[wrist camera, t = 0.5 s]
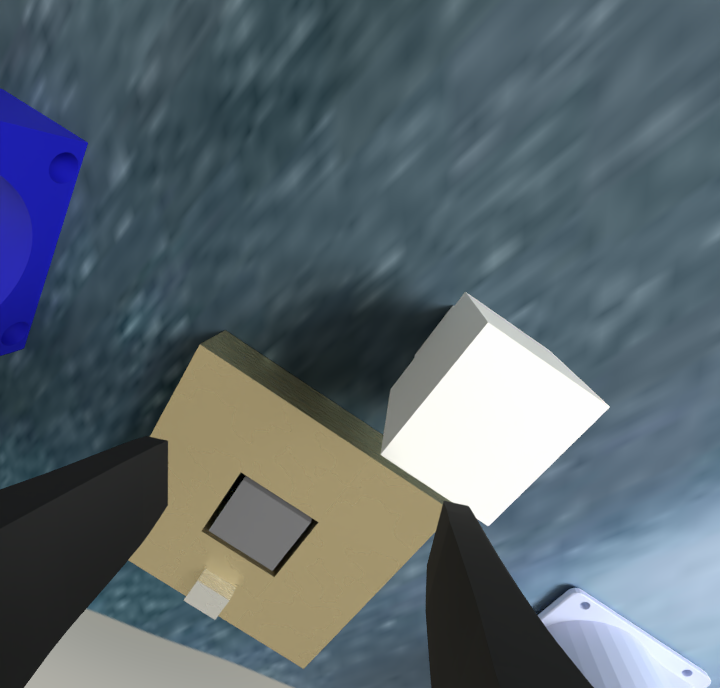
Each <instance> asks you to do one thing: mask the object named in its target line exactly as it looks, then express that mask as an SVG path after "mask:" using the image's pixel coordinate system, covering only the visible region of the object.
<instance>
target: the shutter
mask: <svg viewBox="0 0 720 688" xmlns="http://www.w3.org/2000/svg"><path fill="white" fill-rule="evenodd" d="M311 520H312V518H311V517H310V516H308V515H306V514H305V513H303V512H302V511H300V510H299V509H297V508H296V507H294V506H292V505H291V504H289V503H288V502H286V501H285V500H283V499H282V498H280V497H279V496H277V495H275V494H274V493H272V492H271V491H269V490H268V489H266V488H265V487H263V486H261V485H260V484H258V483H257V482H255V481H254V480H252V479H251V478H249V477H247V476H245V478H244V479H243V480H242V482H241V483H240V485H239V486H238V488H237V489H236V491H235V492H234V494H233V495H232V497H231V498H230V500H229V501H228V503H227V504H226V506H225V507H224V509H223V510H222V511H221V513H220V514H219V516H218V517H217V519H216V520H215V522H214V523H213V525H212V526H211V528H210V529H209V531H210V532H211V533H213V534H215V535H216V536H218V537H219V538H221V539H223V540H224V541H226V542H227V543H229V544H230V545H232V546H234V547H235V548H237V549H238V550H240V551H242V552H243V553H245V554H246V555H248V556H249V557H251V558H253V559H254V560H256V561H257V562H259V563H261V564H262V565H264V566H265V567H267V568H268V569H270V570H272V571H273V569H274V568H275V567H276V566H277V564H278V563H279V562H280V561H281V559H282V558H283V557H284V556H285V554H286V553H287V552H288V551H289V549H290V548H291V547H292V546H293V544H294V543H295V542H296V541H297V539H298V538H299V537H300V536H301V534H302V533H303V532H304V531H305V529H306V528H307V527H308V526H309V524H310V523H311Z"/></svg>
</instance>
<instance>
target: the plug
mask: <svg viewBox="0 0 720 688" xmlns="http://www.w3.org/2000/svg"><path fill="white" fill-rule="evenodd" d="M608 408H609V406H608V405H607V404H606V403H605V402H604V401H603V400H602V399H601V398H600V397H599V396H598V395H597V394H596V393H594V392H593V391H592V390H591V389H590V388H589V387H588V386H587V385H586V384H585V383H584V382H583V381H582V380H581V379H580V378H578V377H577V376H576V375H575V374H574V373H573V372H572V371H571V370H570V369H569V368H568V367H567V366H566V365H565V364H563V363H562V362H561V361H560V360H559V359H558V358H557V357H556V356H555V355H554V354H553V353H552V352H551V351H550V350H548V349H547V348H545V347H544V346H542V345H541V344H540V343H538V342H537V341H535V340H534V339H532V338H531V337H529V336H528V335H527V334H525V333H524V332H522V331H521V330H519V329H518V328H517V327H515V326H514V325H512V324H511V323H509V322H508V321H507V320H505V319H504V318H502V317H501V316H499V315H498V314H496V313H495V312H494V311H492V310H491V309H489V308H488V307H486V306H485V305H484V304H482V303H481V302H479V301H478V300H476V299H475V298H474V297H472V296H471V295H469V294H468V293H466V292H465V293H464V294H463V296H462V297H461V298H460V299H459V301H458V302H457V303H456V305H455V306H452V307H451V308H450V310H449V311H448V312H447V314H446V315H445V316H444V317H443V319H442V320H441V321H440V323H439V324H438V325H437V327H436V328H435V329H434V331H433V332H432V333H431V334H430V336H429V337H428V338H427V340H426V341H425V342H424V344H423V345H422V346H421V348H420V349H419V350H418V351H417V353H416V354H415V355H414V359H413V361H412V362H411V363H410V365H409V366H408V367H407V368H406V370H405V371H404V372H403V374H402V375H401V376H400V378H399V379H398V380H397V381H396V383H395V384H394V385H393V387H392V388H391V389H390V396H389V402H388V409H387V415H386V422H385V428H384V435H383V441H382V448H381V454H380V455H382V456H383V457H385V458H386V459H388V460H389V461H391V462H392V463H394V464H395V465H397V466H398V467H400V468H401V469H403V470H404V471H406V472H407V473H409V474H410V475H412V476H413V477H415V478H416V479H418V480H419V481H421V482H422V483H424V484H425V485H427V486H428V487H430V488H431V489H433V490H434V491H436V492H437V493H439V494H440V495H442V496H443V497H445V498H446V499H448V500H450V501H451V502H453V503H457V504H462V505H467V506H469V507H470V509H471V510H472V512H473V513H474V515H475V517H476V518H477V519H478V520H480V521H481V522H483V523H484V524H486V525H487V526H489V525H490V524H491V523H492V522H493V521H494V520H495V519H496V518H497V517H498V516H499V515H500V514H501V513H502V512H503V511H504V510H505V509H506V508H507V507H508V506H510V505H511V504H512V503H513V502H514V501H515V500H516V499H517V498H518V497H519V496H520V495H521V494H522V493H523V492H524V491H525V490H526V489H527V488H528V487H529V486H530V485H531V484H532V483H533V482H534V481H535V480H536V479H537V478H538V477H539V476H540V475H541V474H542V473H543V472H544V471H545V470H546V469H547V468H548V467H549V466H550V465H551V464H552V463H553V462H554V461H555V460H556V459H557V458H558V457H559V456H560V455H561V454H562V453H563V452H565V451H566V450H567V449H568V448H569V447H570V446H571V445H572V444H573V443H574V442H575V441H576V440H577V439H578V438H579V437H580V436H581V435H582V434H583V433H584V432H585V431H586V430H587V429H588V428H589V427H590V426H591V425H592V424H593V423H594V422H595V421H596V420H597V419H598V418H599V417H600V416H601V415H602V414H603V413H604V412H605V411H606V410H607V409H608Z"/></svg>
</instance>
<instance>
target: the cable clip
mask: <svg viewBox="0 0 720 688" xmlns="http://www.w3.org/2000/svg"><path fill="white" fill-rule="evenodd" d="M87 145H88V143H87V142H86V141H84V140H83V139H81V138H79V137H78V136H76V135H75V134H73V133H72V132H70V131H68V130H67V129H65V128H64V127H62V126H60V125H59V124H57V123H56V122H54V121H52V120H51V119H49V118H48V117H46V116H44V115H43V114H41V113H40V112H38V111H36V110H35V109H33V108H32V107H30V106H28V105H27V104H25V103H24V102H22V101H20V100H19V99H17V98H16V97H14V96H13V95H11V94H9V93H8V92H6V91H5V90H3V89H0V356H2V355H5V354H8V353H11V352H14V351H18V350H21V349H24V347H25V344H26V340H27V337H28V334H29V331H30V328H31V324H32V321H33V318H34V315H35V312H36V308H37V305H38V302H39V299H40V295H41V292H42V289H43V286H44V283H45V279H46V276H47V273H48V270H49V267H50V263H51V260H52V257H53V254H54V251H55V247H56V244H57V241H58V238H59V234H60V231H61V228H62V225H63V222H64V218H65V215H66V212H67V209H68V206H69V202H70V199H71V196H72V193H73V189H74V186H75V183H76V180H77V177H78V173H79V170H80V167H81V164H82V161H83V157H84V154H85V151H86V148H87Z"/></svg>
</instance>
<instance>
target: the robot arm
mask: <svg viewBox="0 0 720 688" xmlns="http://www.w3.org/2000/svg"><path fill="white" fill-rule="evenodd" d="M167 506H168V441H167V440H163V439H158V438H153V437H149V436H145V437H142V438H138V439H135V440H132V441H130V442H127V443H124V444H121V445H119V446H116V447H114V448H111V449H108V450H106V451H103V452H101V453H98V454H96V455H93V456H90V457H88V458H85V459H83V460H80V461H77V462H75V463H72V464H70V465H67V466H64V467H62V468H59V469H57V470H54V471H51V472H49V473H46V474H43V475H40V476H37V477H35V478H32V479H29V480H26V481H23V482H20V483H18V484H15V485H12V486H9V487H6V488H4V489H1V490H0V688H24V686H25V685H26V684H27V683H28V681H29V680H30V679H31V677H32V676H33V674H34V673H35V672H36V670H37V669H38V668H39V666H40V665H41V664H42V662H43V661H44V659H45V658H46V657H47V655H48V654H49V653H50V651H51V650H52V649H53V648H54V646H55V645H56V644H57V643H58V641H59V640H60V639H61V638H62V636H63V635H64V634H65V633H66V631H67V630H68V629H69V628H70V627H71V626H72V624H73V623H74V622H75V621H76V620H77V619H78V617H79V616H80V615H81V614H82V613H83V612H84V611H85V609H86V608H87V607H88V606H89V605H90V604H91V602H92V601H93V600H94V599H95V598H96V597H97V596H98V594H99V593H100V592H101V591H102V590H103V589H104V587H105V586H106V585H107V584H108V583H109V582H110V581H111V579H112V578H113V577H114V576H115V575H116V574H117V572H118V571H119V570H120V569H121V568H122V567H123V565H124V564H125V563H126V562H127V561H128V560H129V558H130V557H131V556H132V555H133V554H134V552H135V551H136V550H137V549H138V548H139V546H140V545H141V544H142V543H143V542H144V540H145V539H146V537H147V536H148V535H149V533H150V532H151V530H152V529H153V527H154V526H155V524H156V523H157V521H158V520H159V518H160V517H161V515H162V514H163V512H164V511H165V509H166V507H167ZM582 602H584V603H582ZM426 622H427V636H428V649H429V662H430V675H431V688H706V687H708V686H709V685H710V683H711V679H710V678H709V676H708V674H707V673H706V672H705V671H704V670H702V669H701V668H699V667H698V666H696V665H695V664H693V663H692V662H690V661H689V660H687V659H686V658H684V657H683V656H681V655H680V654H678V653H677V652H675V651H674V650H672V649H671V648H669V647H668V646H666V645H665V644H663V643H662V642H660V641H658V640H657V639H655V638H654V637H652V636H651V635H649V634H648V633H646V632H645V631H643V630H642V629H640V628H639V627H637V626H636V625H634V624H633V623H631V622H630V621H628V620H627V619H625V618H624V617H622V616H621V615H619V614H618V613H616V612H615V611H613V610H612V609H610V608H609V607H607V606H606V605H604V604H603V603H601V602H600V601H598V600H596V599H595V598H593V597H592V596H590V595H589V594H587V593H586V592H584V591H583V590H581V589H579V588H571V589H569V590H568V591H566V592H565V593H564V594H563V595H561V596H560V597H559V598H558V599H557V600H555V601H554V602H553V603H552V604H551V605H549V606H548V607H547V608H546V609H544V610H543V611H542V612H541V613H540V614H538V615H537V614H536V613H535V611H534V610H533V608H532V607H531V605H530V604H529V603H528V601H527V600H526V598H525V597H524V595H523V594H522V592H521V591H520V589H519V588H518V586H517V585H516V583H515V581H514V580H513V578H512V577H511V575H510V574H509V572H508V570H507V569H506V567H505V566H504V564H503V563H502V561H501V559H500V558H499V556H498V555H497V553H496V551H495V550H494V548H493V546H492V544H491V543H490V541H489V539H488V538H487V536H486V534H485V533H484V531H483V529H482V527H481V526H480V524H479V522H478V520H477V519H476V517H475V515H474V513H473V512H472V510H471V509H470V507H469V506H467V505H462V504H457V503H453V502H448V501H444V502H443V505H442V509H441V513H440V517H439V521H438V525H437V529H436V533H435V536H434V540H433V544H432V548H431V552H430V556H429V560H428V563H427V579H426Z"/></svg>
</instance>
